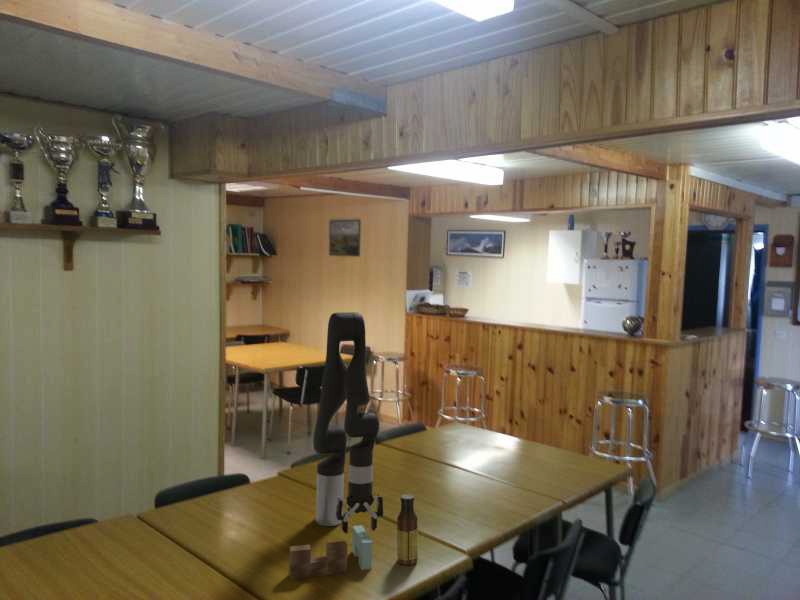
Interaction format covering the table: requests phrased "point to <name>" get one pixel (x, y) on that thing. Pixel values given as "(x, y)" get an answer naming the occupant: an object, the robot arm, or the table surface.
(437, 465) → the table surface
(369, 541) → the teal board
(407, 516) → the sauce bottle
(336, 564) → the walnut u-shaped block
